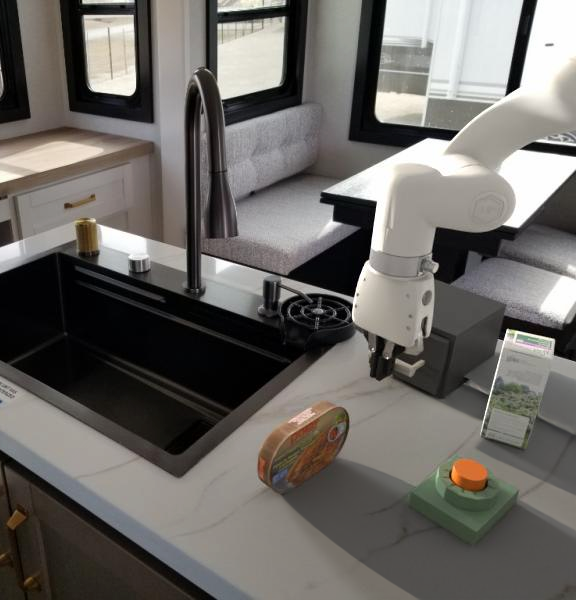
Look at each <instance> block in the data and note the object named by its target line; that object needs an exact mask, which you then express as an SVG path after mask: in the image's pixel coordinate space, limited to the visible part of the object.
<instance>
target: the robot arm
mask: <svg viewBox="0 0 576 600" xmlns="http://www.w3.org/2000/svg"><path fill="white" fill-rule="evenodd" d="M575 131H576V35H575V36H574V37H573V38H572V39H571V40H570V41H569V42H568V43H567V45H565V46H564V47H563V49H561V51H560V52H558V54H557V55H556V56H554V57H553V59H552V60H551V61H549V63H548V64H547V65H546V66H545V67H544V68H543V69H542V70H541V71H540V72H539V73H538V74H537V75H536V76H534V78H533V79H532V80H530V81H529V82H528V83H526V84H524V85H522V86H520V87H519V88H517V89H516V90H513V91H512V92H510V93H509V94H507V95H506V96H505V97H503V98H501V99H500V100H499V101H497V102H496V103H494V104H493V105H491V106H489V107H487V108H486V109H484V110H483V111H481V113H479V114H478V115H477V116H475V117H474V118H473V119H472V120H471V121H469V122H467V124H466V125H465V126H464V127H463V128H462V129H461V130H460V131H459V132H458V133H457V134H456V135H455V136H454V137H453V138H452V139H451V140H450V142H449V143H448V144H447V145H446V146H445V147H444V148H443V149H442V150H441V151H440V152H439V154H438V155H437V156H436V157H435V158H434V160H433V161H432V163H431V165H427V164H422V163H415V162H414V163H413V162H404V163H403V162H402V163H396V164H395V163H394V164H392V165H390V166H388V167H386V168H385V169H384V171H383V172H382V174H381V176H380V180H379V187H378V195H377V201H376V208H375V216H374V222H373V231H372V237H371V245H370V253H369V259H368V260H366V261H365V263H364V266H363V267H362V270H361V273H360V275H359V278H358V281H357V284H356V285H357V286H356V288H355V293H354V297H353V305H352V311H351V319H352V327H353V328H354V329H355V330H356V331H358V333H360V334H362V336H363V337H364V338H365V340H366V342H367V345H368V347H367V348H368V351H369V350H370V352H372V353H371V360H370V363H369V368H370V369H369V378H371V379H375V380H376V381H378V382H381V381H384V379H386V378H388V377H390V376H391V375H392V373H393V371H394V366H395V361H396V355H398V354H401V353H406V354H411V355H419V354H420V353H422V352H423V338H427V337H428V336H429V335H430V331H431V326H432V319H433V310H434V279H435V277H434V274H436V272H438V269H439V267H440V265H439V263H438V262H435V261H434V260H433V252H432V251H433V245H434V240H435V234H436V229H437V228H441V229H448V230H454V231H459V232H460V231H461V232H466V233H467V232H468V233H484V232H490V231H493V230H496V229H499V228H501V226H503V225H505V224H506V223H507V222H508V221H509V220H510V219H511V217H512V216H513V214H514V212H515V209H516V204H517V198H516V193H515V191H514V188H513V187H512V185H511V184H510V183H509V181H507V179H505V178H504V177H503V176H502V175H500V174H499V173H497V172H496V171H495V170H496V169H497V168H498V167H499V166H500V165H501V164H502V163H503V162H505V160H507V159H508V158H509V157H510V156H512V155H513V154H514V153H516V152H517V151H519V150H521V149H522V148H524V147H525V146H527V145H530V144H532V143H534V142H536V141H540V140H541V139H546V138H549V137H552V136H553V137H554V136H557V135H558V136H559V135H562V134H567V133H571V132H575Z"/></svg>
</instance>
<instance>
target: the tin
mask: <svg viewBox="0 0 576 600" xmlns="http://www.w3.org/2000/svg"><path fill="white" fill-rule="evenodd" d="M349 431H350V415H349V412H348V411H347V409H345V407H342V406H339V405H337V404H334V403H333V402H331V401H327V400H320V401H317V402H314V404H311V405H310V406H309V407H307V408H305V409H304V410H301V411H300V412H299V413H297V414H296V415H294V416H291V418H289V419H287V420H286V421H284V422H283V423H281V424H279V425H278V426H276V427H275V428H274V429H273V430H272V431H271V432H269V434H267V436H266V437H265V439H264V441H263V442H262V444H261V446H260V448H259V451H258V453H257V461H256V462H257V463H256V472H257V477H258V479H259V481H260V482H261V483H262V484H264V485H265V486H267V487H268V488H270V489H271V490H272V491H273V492H274V493H275V494H280V495H283V494H287V493H290V492H291V491H294V489H296V488H297V487H298V486H300V485H301V484H302V483H304V482H306V481H308V479H310V478H311V477H313V476H314V475H315V474H317V473H319V472H320V471H321V470H323V469H324V468H326V467H327V466H328V465H330V464H331V463H332V462H333V461H334V460H335V459H336V458H337V457H338V455H339V454H340V453H341V451H342V449H343V447H344V446H345V444H346V441H347V439H348V435H349Z"/></svg>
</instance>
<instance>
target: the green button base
mask: <svg viewBox="0 0 576 600" xmlns="http://www.w3.org/2000/svg"><path fill="white" fill-rule="evenodd" d="M461 459H464V458H463V457H461V456H459V455H457V454H455V455H453V456H452V457H451V458H450V459H448V460H446V461H444V462H442V464H440V465H439V466H438V467H437V469H436V470H435V471H434V472H433V473H431V475H429V476H427V478H425V479H424V480H422V482H420V483H419V484H418V485H417V486H416V487H415V488H413V489H412V490H411V491H410V494H409V499H408V504H407V505H408V507H410V508H412V509H413V510H415V511H416V512H418V513H419V514H421V515H422V516H425V517H426V518H427V519H429V520H431V521H432V522H434V523H435V524H437V525H439V526H440V527H441V528H443V529H445V530H446V531H448V532H449V533H451V534H453V535H454V536H456V537H457V538H459V539H461V540H462V541H463V542H465V543H466V544H468V545H470V546H472V547H474V546H475V544H477V543H478V542H479V541H480V540H481V538H482V537H483V536H484V535H485V534H487V533H488V531H490V530H491V528H492V527H494V525H496V523H498V522H499V520H500V519H501V518H502V517H503V516H505V515H506V513H507V512H508V511H509V510H510V509H512V507H513V506H514V505H515V504H516V503H517V499H518V496H519V493H520V488H518V487H516V486H514V485H512V484H511V483H508V482H507V481H505V480H503V479H501V478H499V477H497V476H496V475H494V474H493V473H492V471H491V470H490V469H488V468H486V467H485V469H486V470H487V473H488V476H487V479H486V483H485V487H484V489H483V490H481V491H478V492H472V491H467V490H463V489H462V488H460V487H458V486H456V485H455V484H454V483H453V482H452V480H451V474H452V470H453V466H454V463H455V462H456V461H458V460H461Z"/></svg>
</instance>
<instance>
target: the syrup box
mask: <svg viewBox="0 0 576 600" xmlns="http://www.w3.org/2000/svg"><path fill="white" fill-rule="evenodd" d="M555 344H556V339H555V338H551V337H548V336H547V337H546V336H542V335H537V334H532V333H528V332H524V331H519V330H515V329H509V328H507V329H506V333H505V336H504V339H503V343H502V346H501V351H500V355H499V359H498V363H497V366H496V370H495V374H494V378H493V382H492V384H491V385H492V386H491V389H490V393H489V397H488V401H487V404H486V409H485V413H484V417H483V420H482V425H481V428H480V435H479V436H480V438H484V439H486V440H487V439H488V440H491V441H493V442H497V443H501V444H504V445H507V446H510V447H514V448H517V449H521V450H526V449H527V446H528V443H529V441H530V437H531V434H532V431H533V428H534V424H535V421H536V417H537V415H538V411H539V408H540V404H541V402H542V398H543V395H544V392H545V389H546V387H547V383H548V379H549V376H550V372H551V371H552V366H553V363H554V355H555V354H554V352H555V346H556V345H555Z"/></svg>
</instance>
